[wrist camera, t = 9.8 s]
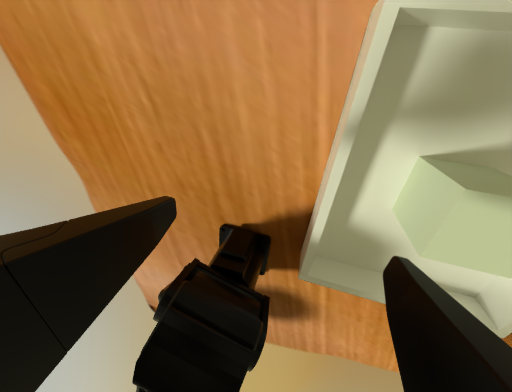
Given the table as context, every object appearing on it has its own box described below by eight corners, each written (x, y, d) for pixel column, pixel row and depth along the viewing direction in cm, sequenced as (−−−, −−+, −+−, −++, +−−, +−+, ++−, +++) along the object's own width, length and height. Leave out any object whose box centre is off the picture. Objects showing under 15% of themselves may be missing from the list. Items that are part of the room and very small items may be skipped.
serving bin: (473, 298, 21) (503, 338, 18) (300, 251, 24) (297, 278, 21) (752, 29, 10) (967, 2, 7) (371, 10, 13) (389, -15, 10)
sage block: (454, 222, 17) (510, 278, 12) (391, 209, 18) (419, 256, 13) (494, 168, 15) (584, 210, 10) (418, 156, 16) (466, 189, 11)
